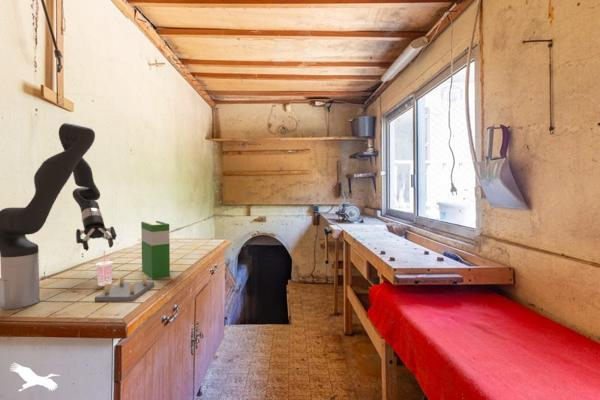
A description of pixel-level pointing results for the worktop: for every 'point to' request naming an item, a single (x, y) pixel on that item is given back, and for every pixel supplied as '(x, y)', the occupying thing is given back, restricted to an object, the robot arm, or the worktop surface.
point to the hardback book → (155, 249)
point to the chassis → (124, 290)
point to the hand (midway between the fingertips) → (99, 247)
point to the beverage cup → (104, 272)
